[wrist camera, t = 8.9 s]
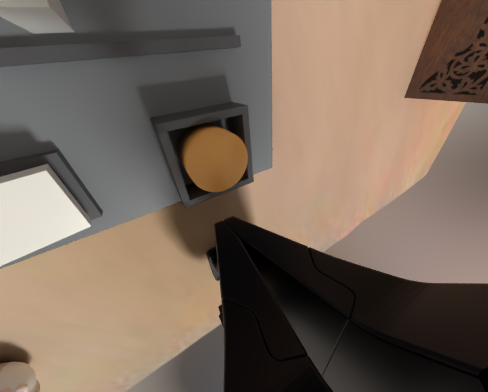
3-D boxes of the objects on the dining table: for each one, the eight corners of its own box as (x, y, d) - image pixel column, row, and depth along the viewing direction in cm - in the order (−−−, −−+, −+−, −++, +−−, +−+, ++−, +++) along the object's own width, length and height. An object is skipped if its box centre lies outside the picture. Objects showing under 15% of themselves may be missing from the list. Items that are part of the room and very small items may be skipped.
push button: (233, 167, 17) (249, 180, 15) (186, 183, 15) (197, 200, 13) (225, 117, 14) (245, 124, 12) (169, 129, 13) (179, 140, 11)
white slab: (89, 217, 13) (91, 226, 12) (-44, 272, 10) (-54, 289, 9) (47, 163, 10) (46, 170, 9) (-144, 216, 7) (-169, 232, 7)
